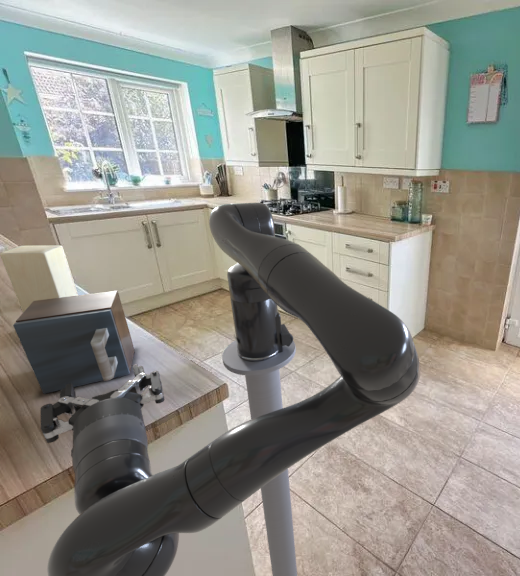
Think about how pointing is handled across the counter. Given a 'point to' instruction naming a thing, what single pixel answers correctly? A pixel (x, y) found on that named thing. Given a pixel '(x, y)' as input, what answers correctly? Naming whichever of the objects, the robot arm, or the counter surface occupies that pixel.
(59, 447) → the counter surface
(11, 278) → the cream rectangular block
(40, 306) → the cupboard
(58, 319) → the door
